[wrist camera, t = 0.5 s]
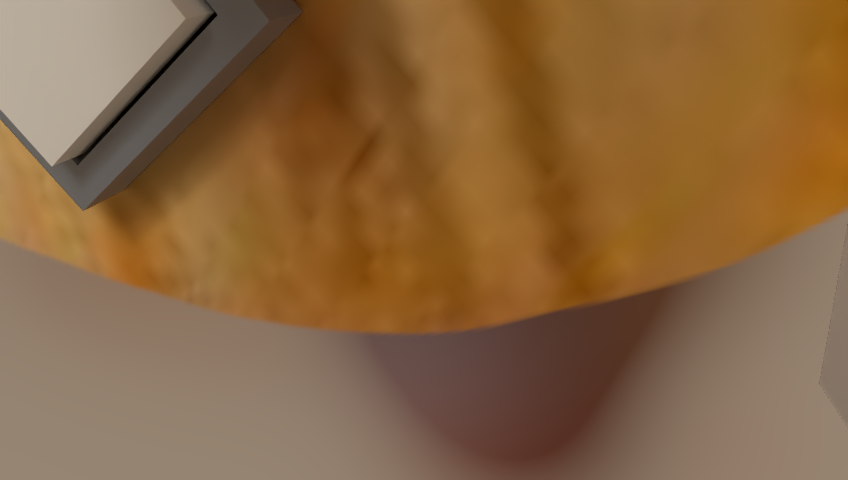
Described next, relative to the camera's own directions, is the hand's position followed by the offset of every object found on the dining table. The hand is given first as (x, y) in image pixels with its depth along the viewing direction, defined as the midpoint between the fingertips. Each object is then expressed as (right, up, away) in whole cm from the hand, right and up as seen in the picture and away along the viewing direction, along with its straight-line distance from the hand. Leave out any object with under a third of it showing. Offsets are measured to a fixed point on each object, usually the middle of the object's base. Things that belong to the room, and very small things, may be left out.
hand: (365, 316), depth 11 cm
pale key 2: (-14, +11, +19) cm, 26 cm away
